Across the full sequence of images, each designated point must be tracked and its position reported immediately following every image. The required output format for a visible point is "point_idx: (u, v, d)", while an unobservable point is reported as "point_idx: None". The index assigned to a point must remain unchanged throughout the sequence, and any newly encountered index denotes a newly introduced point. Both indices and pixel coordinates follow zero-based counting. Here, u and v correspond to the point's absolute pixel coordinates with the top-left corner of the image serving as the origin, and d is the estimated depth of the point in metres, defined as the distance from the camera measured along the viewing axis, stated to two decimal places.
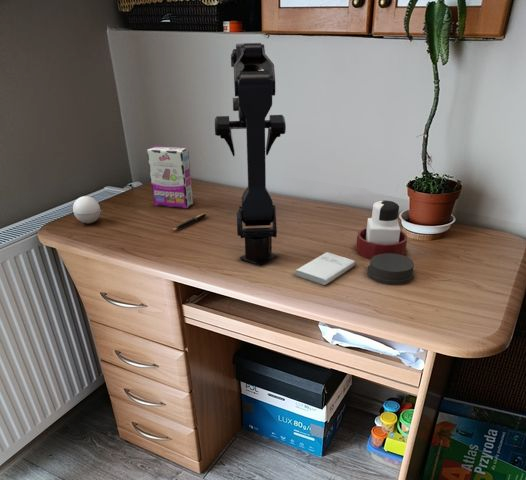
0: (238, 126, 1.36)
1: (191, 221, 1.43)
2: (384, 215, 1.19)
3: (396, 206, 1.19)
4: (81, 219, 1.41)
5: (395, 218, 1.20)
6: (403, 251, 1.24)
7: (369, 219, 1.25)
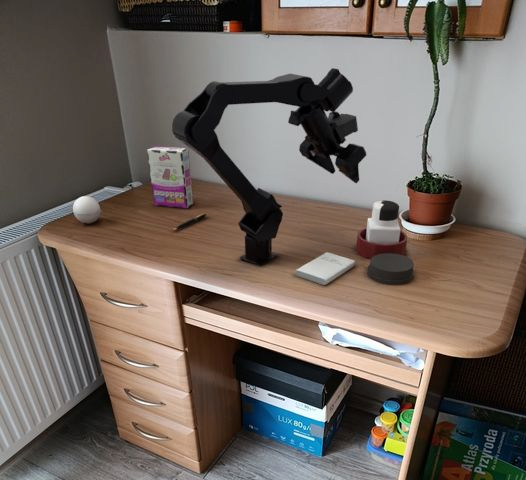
0: None
1: (191, 221, 1.43)
2: (384, 215, 1.19)
3: (396, 206, 1.19)
4: (81, 219, 1.41)
5: (395, 218, 1.20)
6: (403, 251, 1.24)
7: (369, 219, 1.25)
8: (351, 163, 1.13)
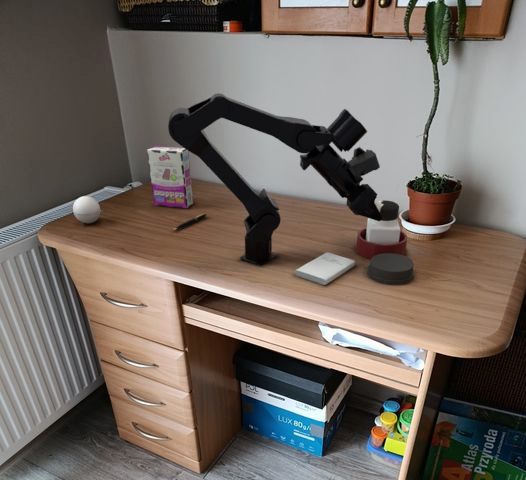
0: None
1: (191, 221, 1.43)
2: (384, 215, 1.19)
3: (396, 206, 1.19)
4: (81, 219, 1.41)
5: (395, 218, 1.20)
6: (403, 251, 1.24)
7: (369, 219, 1.25)
8: (357, 206, 1.10)
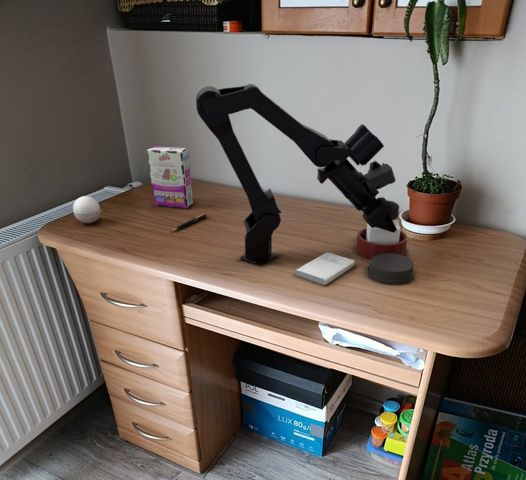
0: None
1: (191, 221, 1.43)
2: None
3: (396, 206, 1.19)
4: (81, 219, 1.41)
5: (395, 218, 1.20)
6: (403, 251, 1.24)
7: None
8: (374, 219, 1.12)
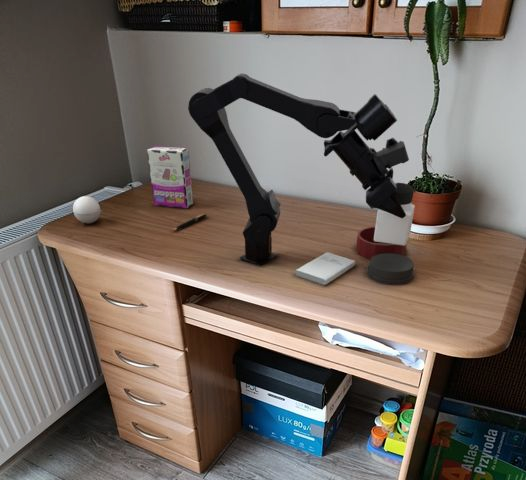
0: None
1: (191, 221, 1.43)
2: None
3: (409, 189, 1.09)
4: (81, 219, 1.41)
5: (407, 203, 1.10)
6: (403, 251, 1.24)
7: None
8: (373, 199, 1.03)
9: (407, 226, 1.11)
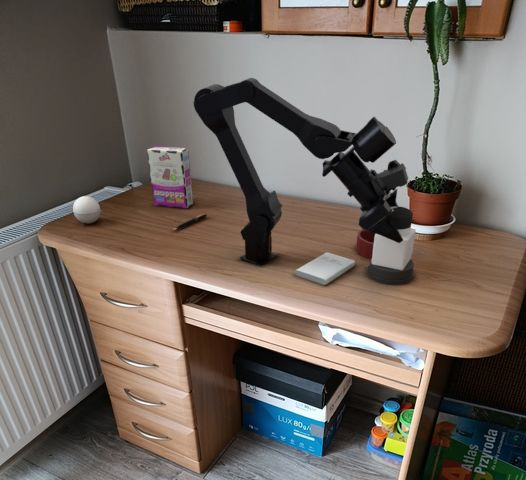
0: None
1: (191, 221, 1.43)
2: None
3: (407, 214, 1.07)
4: (81, 219, 1.41)
5: (404, 227, 1.08)
6: None
7: None
8: (365, 222, 1.02)
9: (404, 251, 1.09)
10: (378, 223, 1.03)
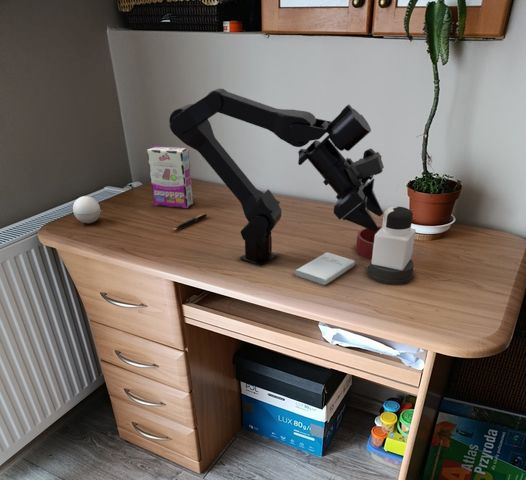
0: None
1: (191, 221, 1.43)
2: (391, 222, 1.07)
3: (407, 214, 1.07)
4: (81, 219, 1.41)
5: (404, 227, 1.08)
6: None
7: None
8: (340, 210, 1.02)
9: (404, 251, 1.09)
10: (353, 211, 1.03)
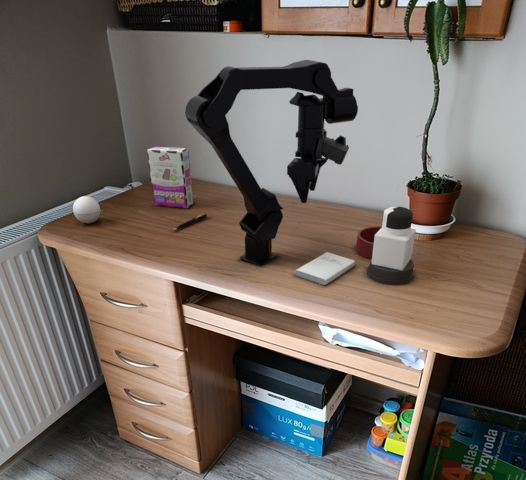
0: None
1: (191, 221, 1.42)
2: (391, 222, 1.07)
3: (407, 214, 1.07)
4: (81, 219, 1.41)
5: (404, 227, 1.08)
6: None
7: None
8: (293, 168, 1.10)
9: (404, 251, 1.09)
10: (301, 177, 1.12)
